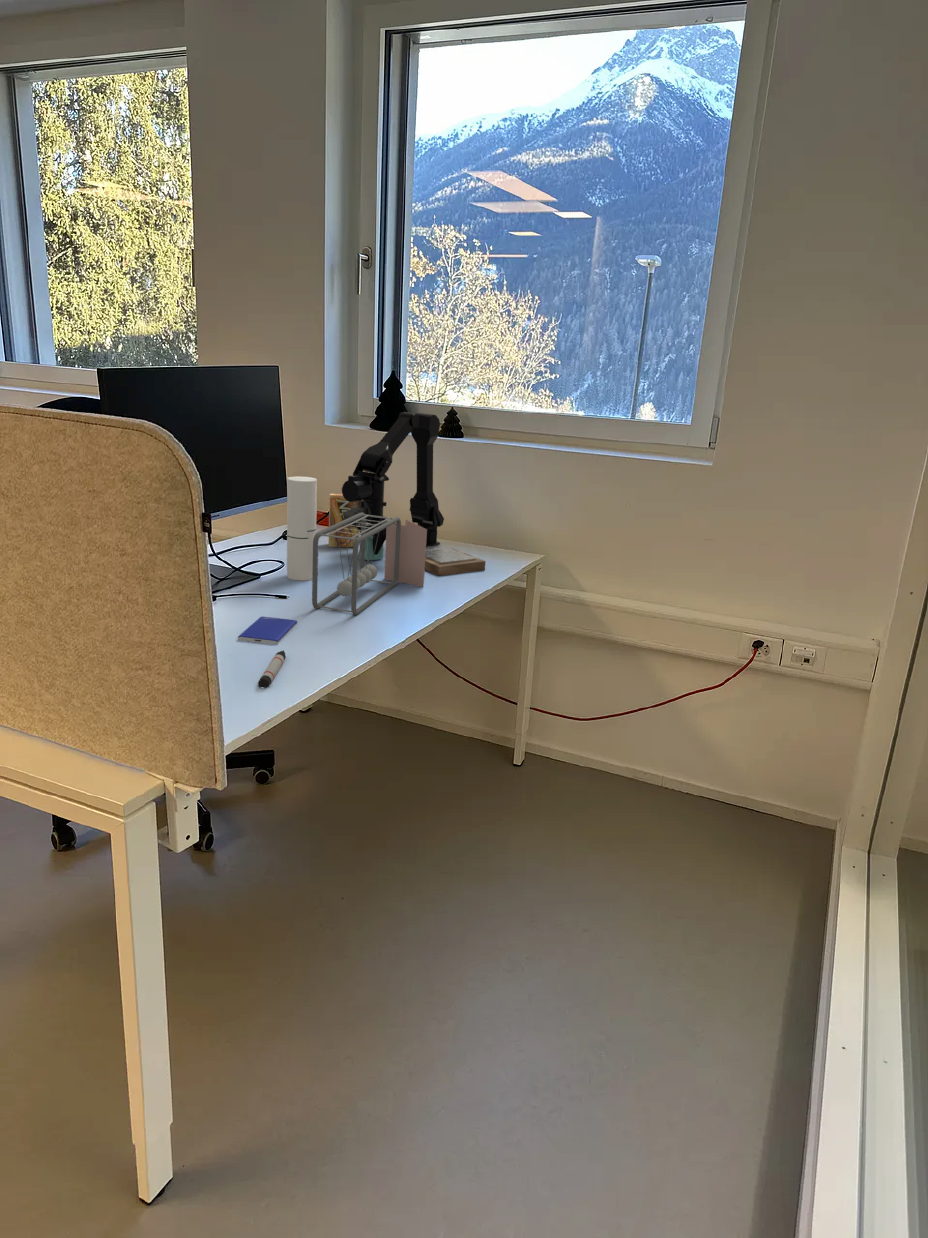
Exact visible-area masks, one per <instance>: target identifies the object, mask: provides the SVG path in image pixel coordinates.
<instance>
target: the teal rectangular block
mask: <svg viewBox="0 0 928 1238" xmlns="http://www.w3.org/2000/svg"><path fill="white" fill-rule="evenodd" d="M372 538H373V537H372V536H370V537H369V538H368V541H367V539H365V540H366V542H367V545H366V544H365V546H367V551H366V549H365V560H366V561H367V560H369V561H372V559H373V561H375V560H377V561H378V560H383V559H384V544H383V545H382V547H381V549H380V551H379V553H378V554H377V555H374V557H373V554H374V552H373V541H372ZM371 542H372V545H371ZM360 545H361V542H360ZM370 547H371V549H370ZM369 551H370V554H369ZM367 553H368V555H369V558H367ZM358 554H359V557H358V558H360V553H359V552H358ZM365 560H364V561H365Z"/></svg>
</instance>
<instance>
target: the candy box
mask: <svg viewBox="0 0 928 1238" xmlns="http://www.w3.org/2000/svg"><path fill="white" fill-rule="evenodd" d="M328 500H329V503H328V504H329V505H328V506H329V509H328V510H329V511H328V512H329V513H328V527H330V526H332V525H335V524H337V523H339V522H341V521H343V520H344V516H343V513H344V512H346V511H348V510H350V509H353V508H356V507H358V506H359V502H360V501H354V502H349V501H347V500H346V499H345V498H344V497H343V494H342V493H329V499H328ZM346 525H347V524H346ZM346 525H344V526H346ZM344 526H342V527H344ZM342 527H340V528H342ZM345 528H347V529H345V532H346V533H345V534H344V533H343V532H344V529H341V530H339V532H338V535H337V532H335V533H333V534H331V535H333V536H341V537H345V536H346V537H348V538H351V537H353V536H355V535H357V534H359V533H360V531H358V532H357V528H356V527H351V529H354V530H351V529H350V526H348V527H345ZM338 529H339V528H338ZM335 530H337V529H335ZM335 530H333V531H335ZM333 531H331V532H333ZM351 531H352V533H353V534H352V535H351V534H350V533H351ZM331 532H329V533H331ZM329 533H328V534H329ZM356 538H358V537H355V539H356ZM354 542H355V540H353V542H352V540H349V539H346V541H345V539H342V538H339V542H338V538H335V537H328V547H329V548H330V547H331V548H333V547H334V548H337V547H338V548H339V544H340V548H353V544H354ZM346 543H347V547H346Z"/></svg>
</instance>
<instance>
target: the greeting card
mask: <svg viewBox="0 0 928 1238" xmlns="http://www.w3.org/2000/svg"><path fill="white" fill-rule="evenodd" d="M426 539H427V529H425V528H423V527H421V526H418V524H417V523H413V522H412V521H411V520H407V519H405V525H404V524H401V534H400V554H399V573H398V581H397V583H401V584H406V585H407V584H408V585H411V586H417V587H422V588H423V587H424V584H425V571H426V570H425V555H426V551H427V546H426ZM395 545H396V524H392V525H390V526H388V527H387V528H386V540H385V552H384V553H385V554H384V556H385V557H384V578H383V579H384V580H388V581H391V582H393V579H394V565H395Z"/></svg>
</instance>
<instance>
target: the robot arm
mask: <svg viewBox="0 0 928 1238" xmlns="http://www.w3.org/2000/svg"><path fill="white" fill-rule="evenodd" d="M392 424H393V425H392V426H391V427H390V428H389V430H388V431H386V433H385V435H383V437H382V438H381V439H380V441H378V442H377V443H376V444H374V445H371V446H368V448H367V449H366V450H365V451H363V452H362V453H361V455H360V457H359V460H358V462H357V464H356V466H355V468H354V471H353V472H352V475H348V478H347V480H346V481H345V482H344V483H343V484H342V486H341V494H343V497H344V498H345V499H346V500H347V501H349V502H354V501H360V502H359V506H358V507H356V508H353V509H350V510H348V511H346V512H344V513H343V516H344V520H345V519H348V518H350V517H352V516H354V515H356V514H359V513H364V514H366V515H373V516H381V517H385V515H384V507H387V502H386V501H385V500H384V495H385V482H388V481H389V480H390V478H389V477H388V476H387V472H388V471H389V469H390V467H391V465H392V464H393V455H394V453H396V451H397V450H398V448H399V447H400V446H401V445H402V443H403V442H404V441H405V439H406V438H407V437H408V436H409V435H410V434H411V437H412V439H413V441H414V442H415V444H416V492H415V493H414V495H413V497H410V499H409V505H410V506H409V512H410V516H411V522H412V523H414V524H417V525H418V526H421V527H423V528H425V529H427V539H426V547H427V546H436V545H441V542H439V541H438V527H439V528H440V527H441V526H443V525H444V521H445V517H444V516H443V514H442V513H441V510H440V509H439V508H440V507H439V500H438V498H437V496H436V495H435V492H434V487H433V486H434V443H435V442H436V441H437V439H438V437H439V434H440V427H441V422H440V418H439V417H438V416H437V415H436V414H432V413H424V412H423V413H422V412H416V413H414V412H407V411H403V412H400V413H399V414H398V417H397V420H395V422H394V423H392ZM359 519H360V518H359ZM357 520H358V519H357ZM368 520H371V521H368ZM384 520H386V519H384V518H376V517H369V516H368V517H366V523H367V524H366V527H368V528H370V527H372V526H374V525H376V524H378V523H380V522H382V521H384ZM354 521H356V520H354ZM354 521H352V522H354ZM376 521H379V522H376ZM388 521H389V520H387V521H385V522H383V523H382V524H384V523H386V522H388ZM352 522H350V523H352ZM358 522H359V523H357V525H356V523H354V524H352V525H353V526H351V527H356V528H357V527H358V526H361V520H360V521H358ZM350 523H348V524H350ZM348 524H347V525H348ZM371 524H374V525H371ZM382 524H381V525H382ZM394 524H396V523H394ZM378 526H380V525H378ZM378 526H376V528H377V527H378ZM368 528H366V529H368ZM373 529H375V527H374V528H372V529H370V531H371V530H373ZM358 530H361V527H358ZM367 532H369V530H368V531H366V532H365V533H367ZM359 533H361V531H359ZM378 533H379V536H378ZM378 533H376V534H374V536H373V535H372V537H373V552H374V550H375V553H374V555H377V554H378V553H379V551H380V549H381V547H382V545H383V546H384V543H386V528H385V529H383V530H381V531H379V532H378ZM377 537H378V540H377ZM376 541H377V544H376ZM375 546H376V549H375Z"/></svg>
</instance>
